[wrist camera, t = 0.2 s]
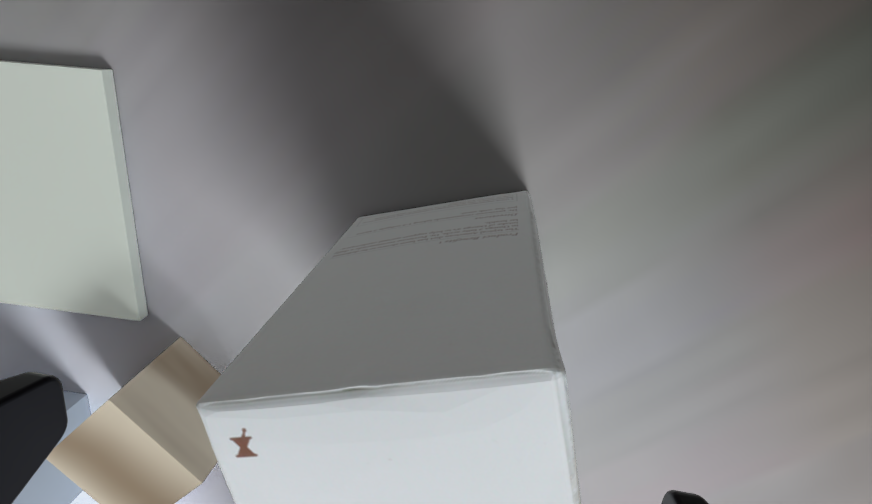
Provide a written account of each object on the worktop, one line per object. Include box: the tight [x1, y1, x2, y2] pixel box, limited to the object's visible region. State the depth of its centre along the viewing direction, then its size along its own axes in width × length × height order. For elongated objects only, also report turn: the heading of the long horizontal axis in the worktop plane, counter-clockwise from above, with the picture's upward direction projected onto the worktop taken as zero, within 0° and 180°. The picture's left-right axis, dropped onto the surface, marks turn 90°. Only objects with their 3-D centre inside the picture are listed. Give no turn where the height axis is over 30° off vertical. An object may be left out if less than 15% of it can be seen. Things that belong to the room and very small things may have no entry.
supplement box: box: [196, 191, 581, 504], centre depth 17 cm, size 7×7×13 cm
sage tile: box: [0, 60, 148, 321], centre depth 24 cm, size 11×11×1 cm
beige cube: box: [46, 337, 221, 504], centre depth 25 cm, size 5×5×5 cm
